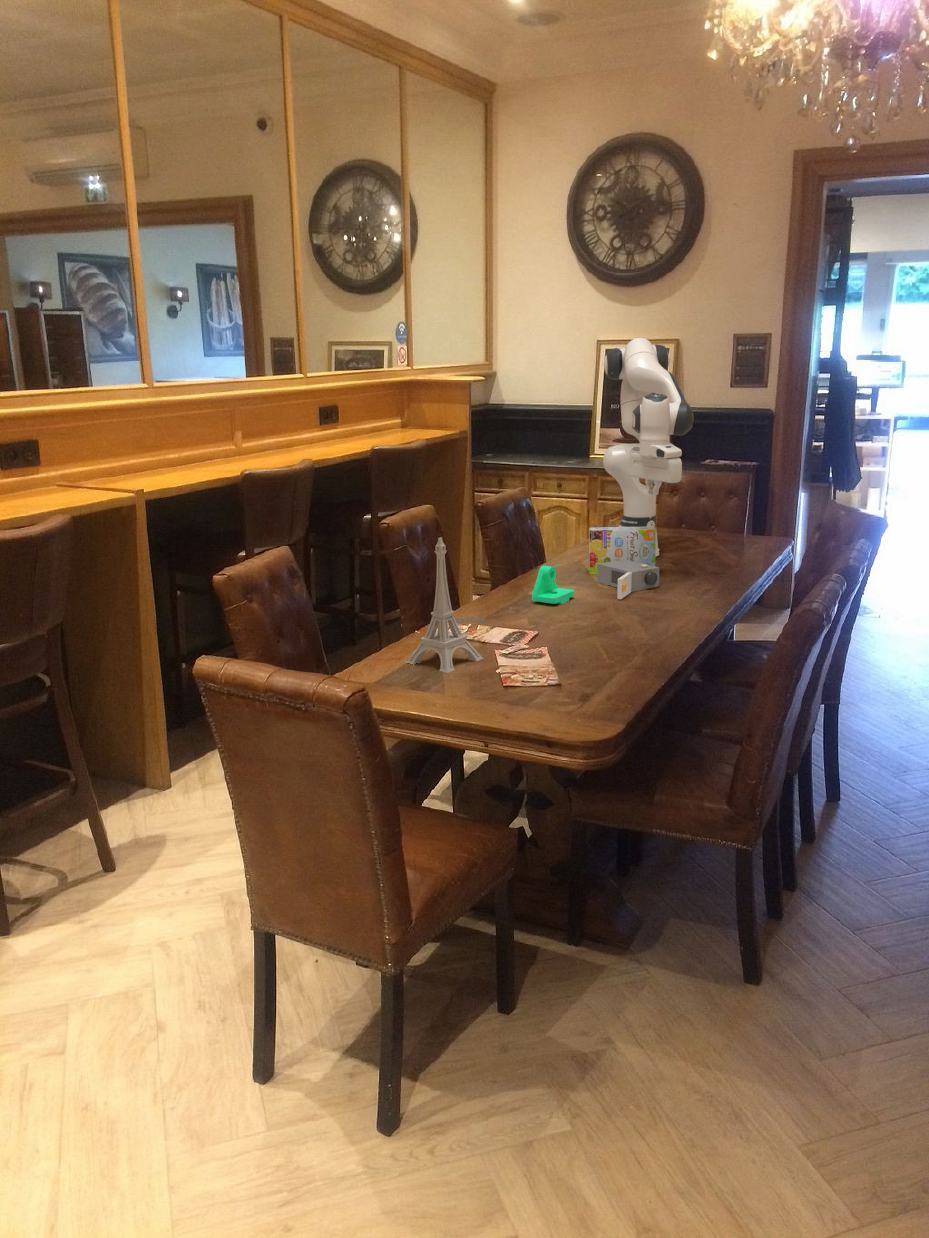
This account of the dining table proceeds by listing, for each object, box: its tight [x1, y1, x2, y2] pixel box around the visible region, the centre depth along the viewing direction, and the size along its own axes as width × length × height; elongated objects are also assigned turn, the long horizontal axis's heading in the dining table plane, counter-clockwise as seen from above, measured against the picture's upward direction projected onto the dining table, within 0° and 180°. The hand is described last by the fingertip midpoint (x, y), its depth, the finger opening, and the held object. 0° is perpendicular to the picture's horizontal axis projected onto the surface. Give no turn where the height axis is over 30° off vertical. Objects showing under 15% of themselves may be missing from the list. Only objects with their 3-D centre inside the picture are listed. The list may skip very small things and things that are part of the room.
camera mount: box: [531, 565, 575, 605], centre depth 289 cm, size 12×8×10 cm, turn 144°
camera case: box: [596, 559, 660, 593], centre depth 306 cm, size 17×11×7 cm, turn 33°
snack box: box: [588, 526, 657, 576], centre depth 321 cm, size 21×6×15 cm, turn 84°
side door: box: [616, 572, 632, 600], centre depth 292 cm, size 10×2×6 cm, turn 153°
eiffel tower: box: [404, 537, 485, 674], centre depth 233 cm, size 13×13×30 cm
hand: (653, 494), depth 304 cm, fingers closed
